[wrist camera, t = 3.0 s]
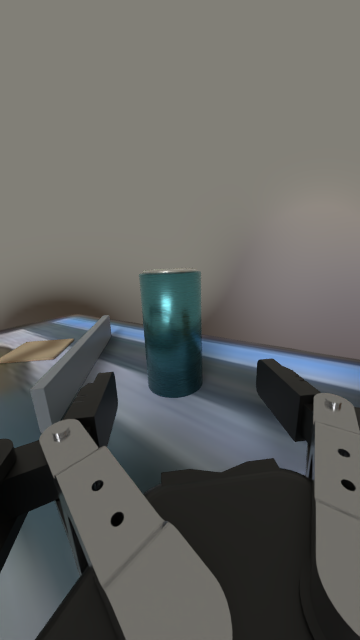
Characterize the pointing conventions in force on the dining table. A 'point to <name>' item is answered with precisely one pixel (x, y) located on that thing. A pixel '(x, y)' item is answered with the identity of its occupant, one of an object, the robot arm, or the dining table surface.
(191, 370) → the can
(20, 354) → the coaster
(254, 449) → the dining table surface
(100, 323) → the acrylic wall
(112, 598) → the robot arm
